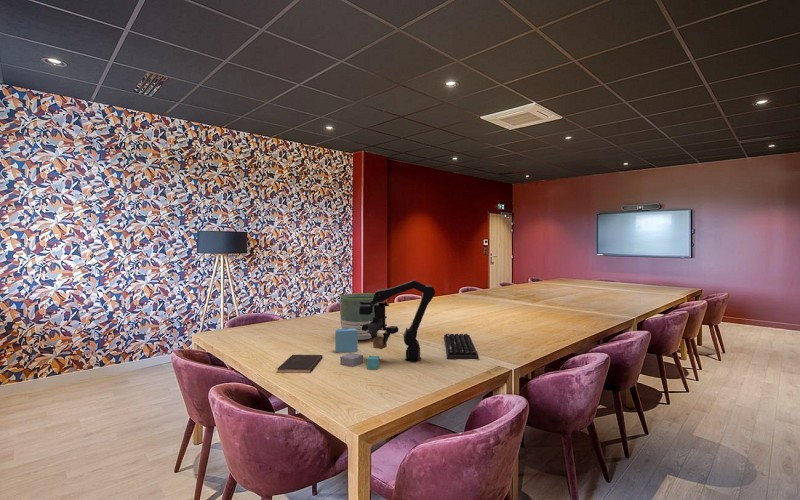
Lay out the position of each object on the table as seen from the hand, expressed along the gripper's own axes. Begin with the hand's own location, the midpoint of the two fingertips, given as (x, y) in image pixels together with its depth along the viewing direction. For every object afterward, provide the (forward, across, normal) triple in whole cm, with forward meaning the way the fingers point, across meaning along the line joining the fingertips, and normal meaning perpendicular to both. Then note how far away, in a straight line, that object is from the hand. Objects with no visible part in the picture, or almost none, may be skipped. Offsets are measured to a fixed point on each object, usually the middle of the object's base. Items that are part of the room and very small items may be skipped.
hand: (379, 345), depth 197 cm
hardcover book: (+8, -31, -24) cm, 40 cm away
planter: (+8, -33, +34) cm, 48 cm away
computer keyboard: (+8, +29, +40) cm, 50 cm away
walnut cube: (+1, 0, 0) cm, 1 cm away
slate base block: (+8, -10, -11) cm, 17 cm away
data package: (+8, -25, +6) cm, 27 cm away
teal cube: (+8, +3, -12) cm, 15 cm away
